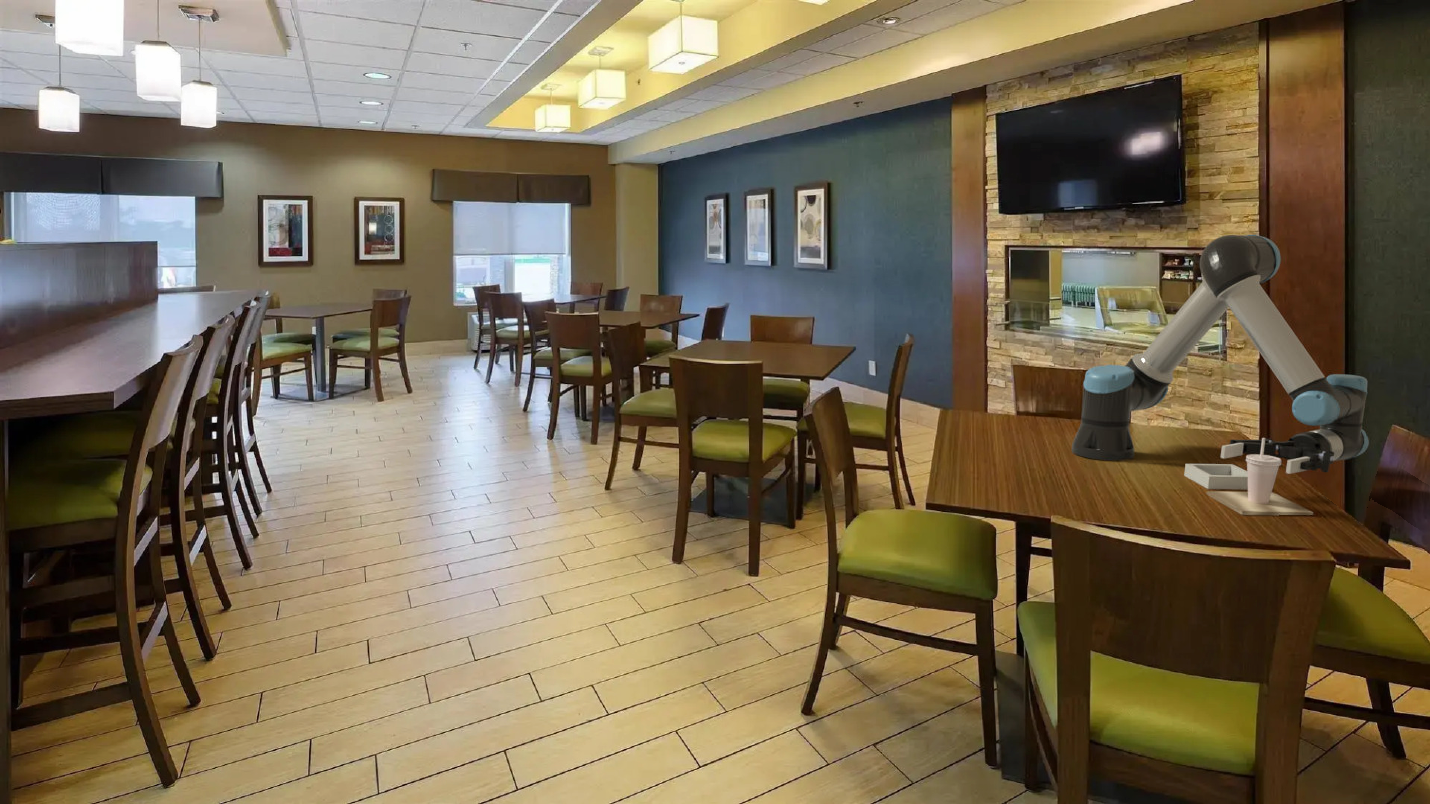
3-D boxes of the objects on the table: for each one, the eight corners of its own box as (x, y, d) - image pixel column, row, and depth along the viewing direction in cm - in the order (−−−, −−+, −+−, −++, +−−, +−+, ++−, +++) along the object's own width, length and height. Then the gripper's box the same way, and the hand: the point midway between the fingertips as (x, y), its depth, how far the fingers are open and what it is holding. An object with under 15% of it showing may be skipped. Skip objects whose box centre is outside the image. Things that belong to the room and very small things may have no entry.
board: (1242, 514, 169) (1242, 511, 168) (1206, 494, 182) (1207, 491, 182) (1312, 516, 168) (1313, 512, 167) (1271, 495, 181) (1272, 492, 181)
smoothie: (1233, 497, 178) (1241, 435, 175) (1261, 496, 178) (1268, 434, 176) (1255, 506, 171) (1263, 441, 169) (1283, 505, 172) (1292, 441, 169)
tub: (1207, 488, 187) (1209, 476, 186) (1184, 475, 197) (1185, 463, 197) (1257, 489, 186) (1259, 477, 185) (1231, 476, 197) (1232, 464, 196)
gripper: (1375, 478, 170) (1316, 492, 161) (1254, 452, 193) (1196, 462, 183) (1380, 443, 169) (1321, 455, 160) (1257, 421, 191) (1199, 430, 182)
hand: (1254, 459), depth 172 cm, fingers open, 13 cm apart
